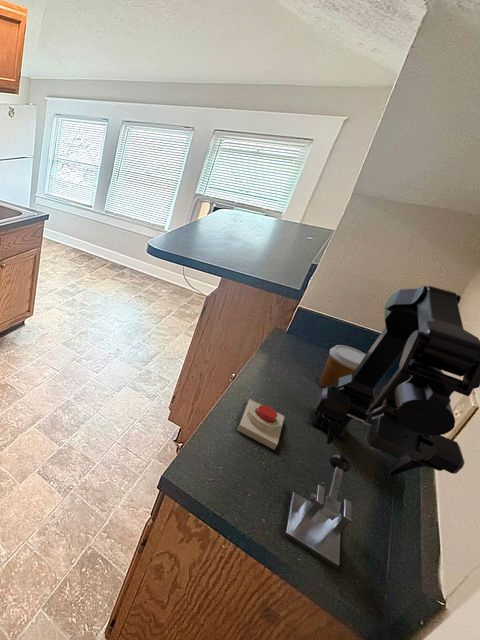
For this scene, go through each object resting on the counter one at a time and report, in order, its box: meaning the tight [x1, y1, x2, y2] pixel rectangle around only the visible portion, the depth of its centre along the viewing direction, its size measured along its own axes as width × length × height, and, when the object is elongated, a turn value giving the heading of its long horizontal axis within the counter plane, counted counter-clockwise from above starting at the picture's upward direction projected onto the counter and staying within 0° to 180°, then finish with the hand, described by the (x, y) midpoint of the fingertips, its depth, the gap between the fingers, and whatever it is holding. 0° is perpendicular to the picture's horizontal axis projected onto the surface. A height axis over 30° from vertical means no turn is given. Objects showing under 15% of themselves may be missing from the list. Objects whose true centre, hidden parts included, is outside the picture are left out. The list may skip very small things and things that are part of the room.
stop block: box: [237, 398, 285, 451], centre depth 94 cm, size 12×8×4 cm, turn 139°
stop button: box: [256, 404, 278, 423], centre depth 93 cm, size 4×4×2 cm
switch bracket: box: [284, 484, 353, 569], centre depth 71 cm, size 11×8×9 cm
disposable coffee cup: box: [318, 344, 367, 388], centre depth 109 cm, size 10×10×12 cm
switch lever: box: [318, 453, 352, 520], centre depth 72 cm, size 13×3×3 cm, turn 138°
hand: (358, 457), depth 71 cm, fingers open, 9 cm apart
